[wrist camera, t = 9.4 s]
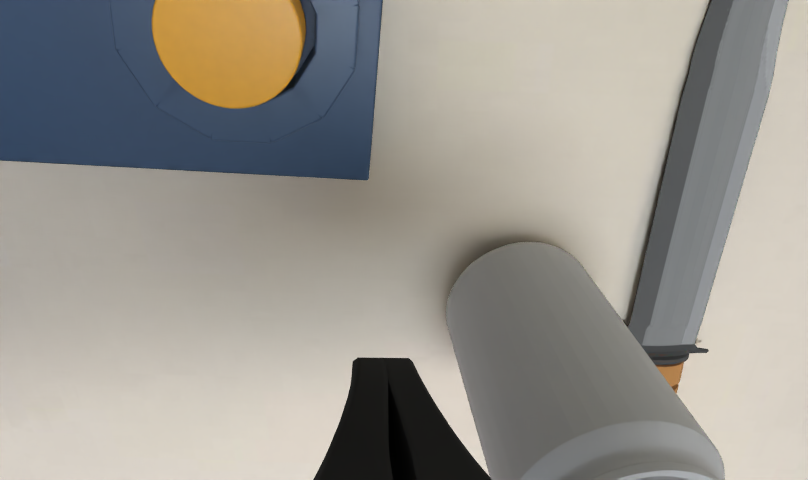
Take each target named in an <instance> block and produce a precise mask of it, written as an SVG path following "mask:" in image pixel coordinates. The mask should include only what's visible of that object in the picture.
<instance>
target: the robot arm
mask: <svg viewBox="0 0 808 480" xmlns="http://www.w3.org/2000/svg"><path fill="white" fill-rule="evenodd" d="M314 480H492V479H491V478H490V477H489V476H488V475H487V473H486V472H485V471H484V470H483V469H482V468H481V466H480V465H479V464H478V463H477V462H476V460H475V459H474V458H473V457H472V455H471V454H470V453H469V452H468V450H467V449H466V448H465V446H464V445H463V444H462V442H461V441H460V440H459V438H458V437H457V436H456V434H455V433H454V431H453V430H452V428H451V427H450V426H449V424H448V422H447V421H446V419H445V418H444V416H443V415H442V413H441V412H440V410H439V409H438V407H437V406H436V404H435V402H434V401H433V399H432V397H431V396H430V394H429V392H428V390H427V389H426V387H425V385H424V383H423V382H422V380H421V378H420V376H419V374H418V372H417V370H416V368H415V366H414V364H413V362H412V361H411V360H410V359H409V358H357V359H355V360H354V361H353V365H352V378H351V386H350V390H349V394H348V398H347V401H346V404H345V407H344V411H343V414H342V417H341V420H340V422H339V425H338V428H337V430H336V432H335V435H334V437H333V440H332V442H331V444H330V447H329V449H328V451H327V454H326V456H325V458H324V460H323V462H322V464H321V466H320V468H319V470H318V472H317V474H316V476H315V478H314Z"/></svg>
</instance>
